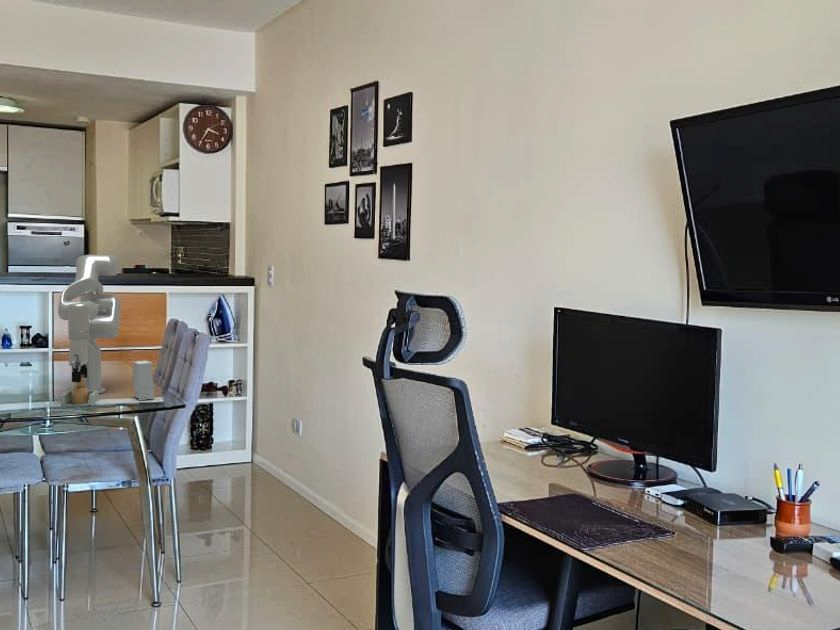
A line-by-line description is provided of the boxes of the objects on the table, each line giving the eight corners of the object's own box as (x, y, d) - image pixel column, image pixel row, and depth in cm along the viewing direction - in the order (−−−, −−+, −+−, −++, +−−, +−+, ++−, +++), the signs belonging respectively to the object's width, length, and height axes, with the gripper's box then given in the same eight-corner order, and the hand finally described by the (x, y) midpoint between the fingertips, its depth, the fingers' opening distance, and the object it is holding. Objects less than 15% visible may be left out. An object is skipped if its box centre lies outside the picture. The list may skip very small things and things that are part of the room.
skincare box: (154, 399, 353) (153, 362, 352) (138, 401, 350) (138, 363, 348) (147, 396, 360) (147, 359, 359) (132, 397, 357) (132, 360, 355)
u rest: (68, 400, 348) (68, 390, 348) (98, 400, 350) (98, 390, 349) (61, 405, 338) (61, 395, 338) (92, 405, 339) (92, 395, 339)
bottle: (74, 401, 346) (74, 373, 345) (89, 401, 347) (89, 373, 346) (70, 404, 341) (70, 376, 339) (86, 404, 341) (85, 376, 340)
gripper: (74, 332, 349) (75, 376, 351) (62, 338, 332) (63, 383, 334) (94, 332, 350) (95, 376, 352) (83, 338, 333) (84, 383, 335)
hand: (79, 379), depth 343 cm, fingers open, 9 cm apart
